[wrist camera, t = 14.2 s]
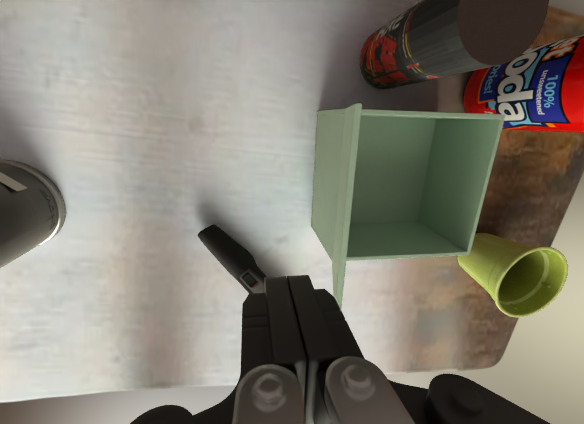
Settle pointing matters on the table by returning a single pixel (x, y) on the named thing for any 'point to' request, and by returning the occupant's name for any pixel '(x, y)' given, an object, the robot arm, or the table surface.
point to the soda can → (534, 89)
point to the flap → (345, 196)
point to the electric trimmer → (234, 258)
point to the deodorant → (450, 39)
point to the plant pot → (516, 273)
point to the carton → (406, 181)
